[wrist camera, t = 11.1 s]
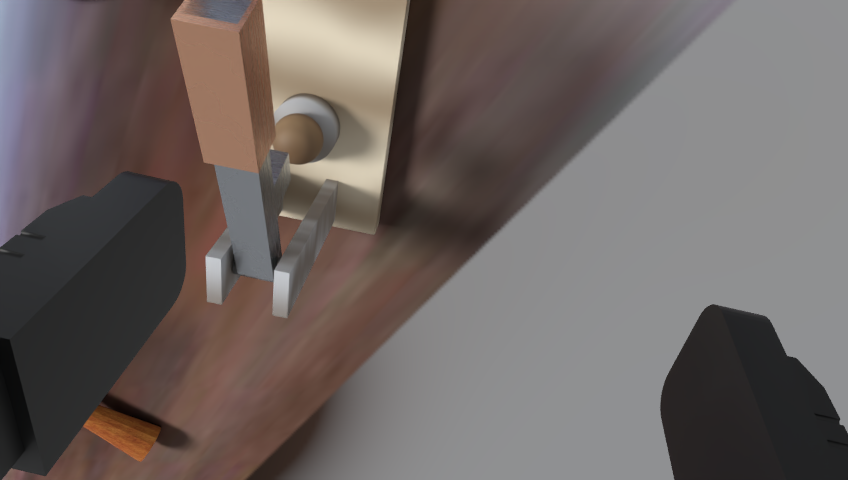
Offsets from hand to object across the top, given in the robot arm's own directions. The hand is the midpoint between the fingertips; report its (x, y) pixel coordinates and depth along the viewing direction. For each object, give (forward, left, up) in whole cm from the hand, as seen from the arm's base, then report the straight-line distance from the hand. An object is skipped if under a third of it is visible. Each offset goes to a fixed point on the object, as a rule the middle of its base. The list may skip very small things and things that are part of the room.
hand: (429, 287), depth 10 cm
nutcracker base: (+8, -9, -30) cm, 32 cm away
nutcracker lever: (+7, -9, -20) cm, 24 cm away
